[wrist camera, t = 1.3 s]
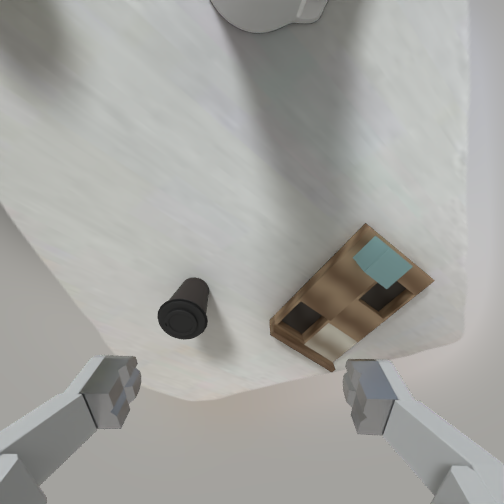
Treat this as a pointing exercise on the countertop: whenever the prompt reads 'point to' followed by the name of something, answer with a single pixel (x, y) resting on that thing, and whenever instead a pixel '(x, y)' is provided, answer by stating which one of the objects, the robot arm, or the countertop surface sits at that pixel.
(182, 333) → the coffee cup
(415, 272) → the board
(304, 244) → the countertop surface
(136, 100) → the countertop surface
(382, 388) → the robot arm
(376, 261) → the teal block
